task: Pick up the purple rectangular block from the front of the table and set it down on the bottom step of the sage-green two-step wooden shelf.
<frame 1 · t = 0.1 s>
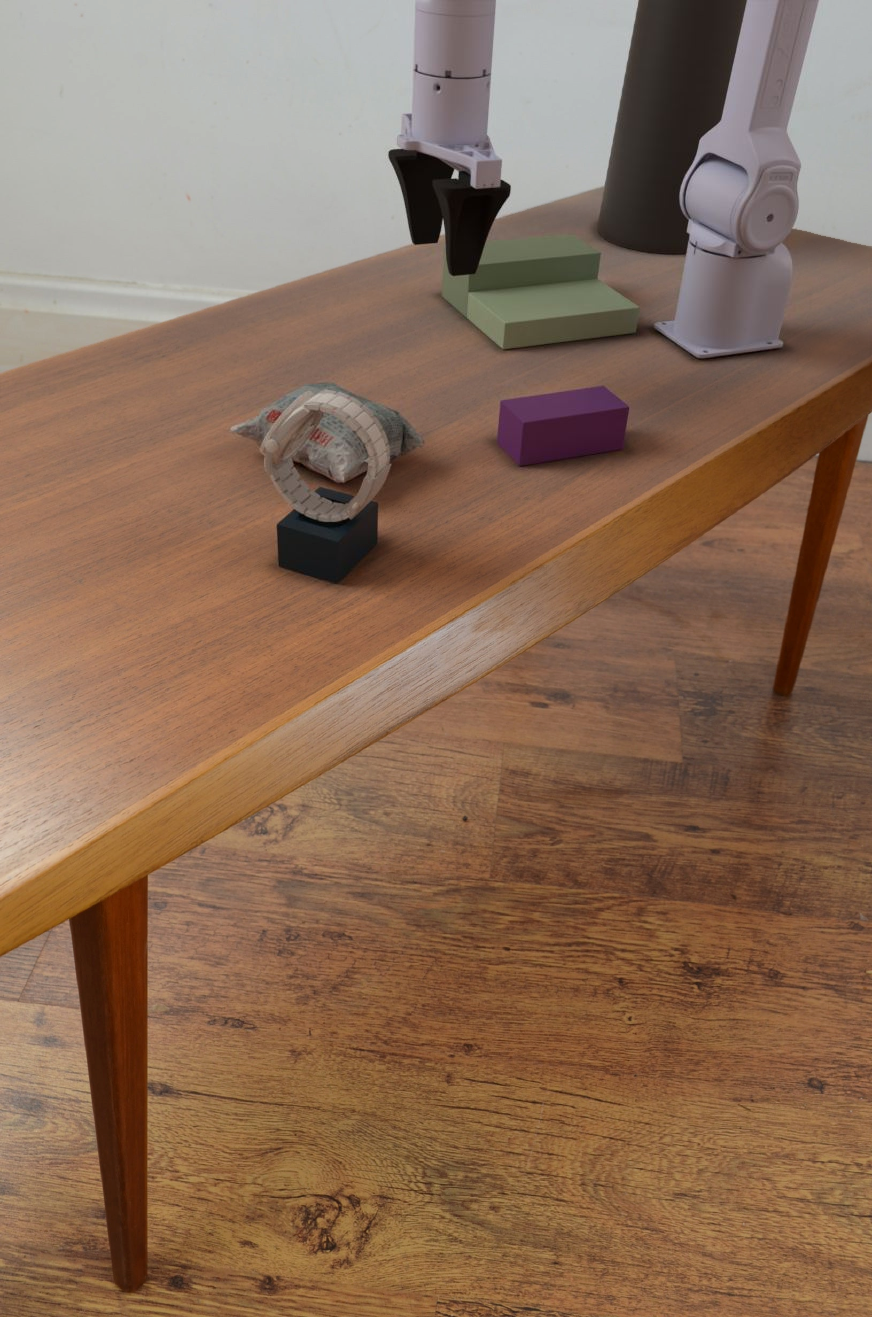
hand: (443, 257, 92), 10 cm above the table, tool pointing down, fingers open, 7 cm apart
step shelf: (531, 310, 112), on the table
purple rectangular block: (559, 446, 89), on the table
watch: (327, 557, 75), on the table
packaged food: (326, 465, 85), on the table
vase: (655, 236, 133), on the table
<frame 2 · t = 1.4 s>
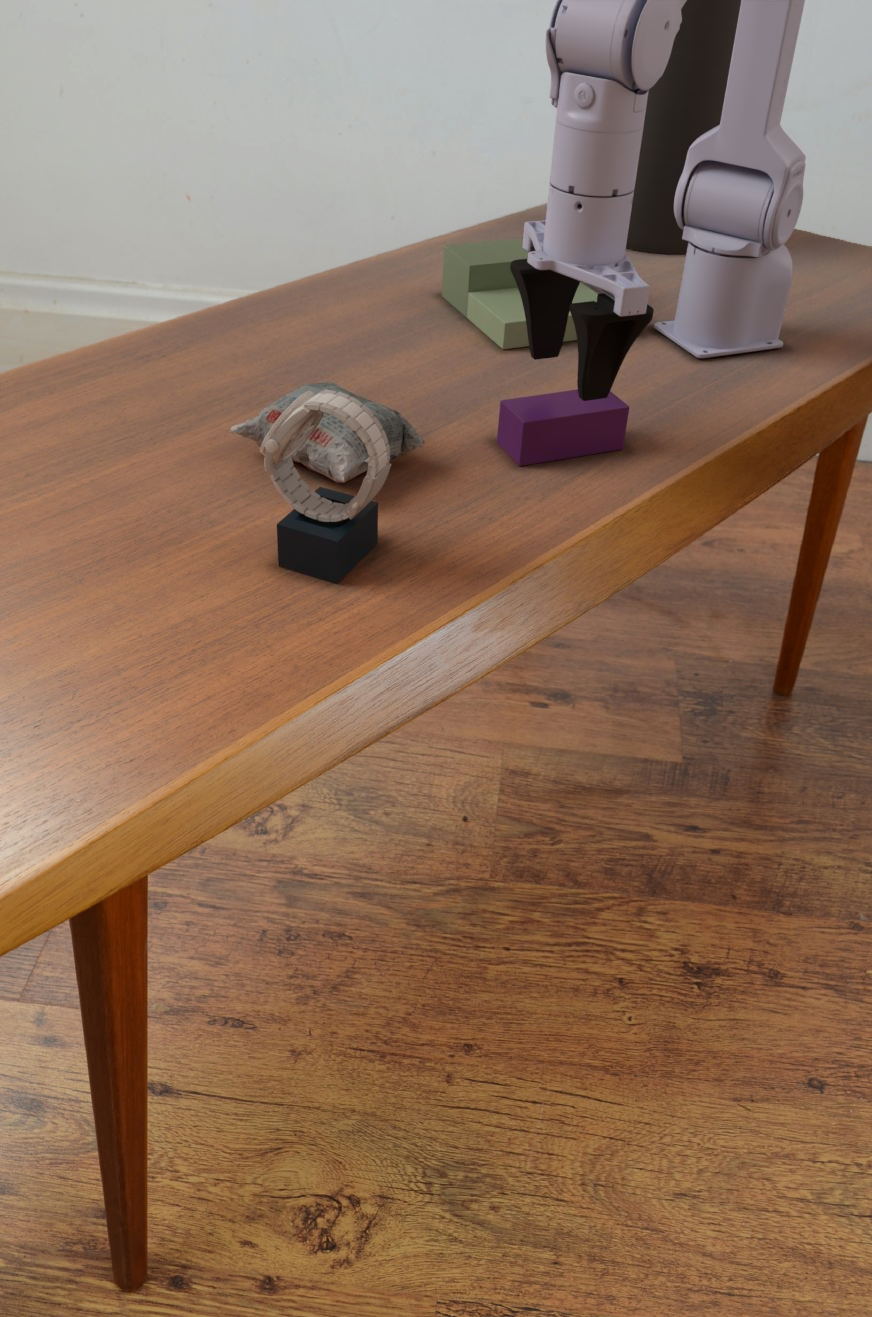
hand: (568, 376, 85), 6 cm above the table, tool pointing down, fingers open, 7 cm apart
nothing on the table moved.
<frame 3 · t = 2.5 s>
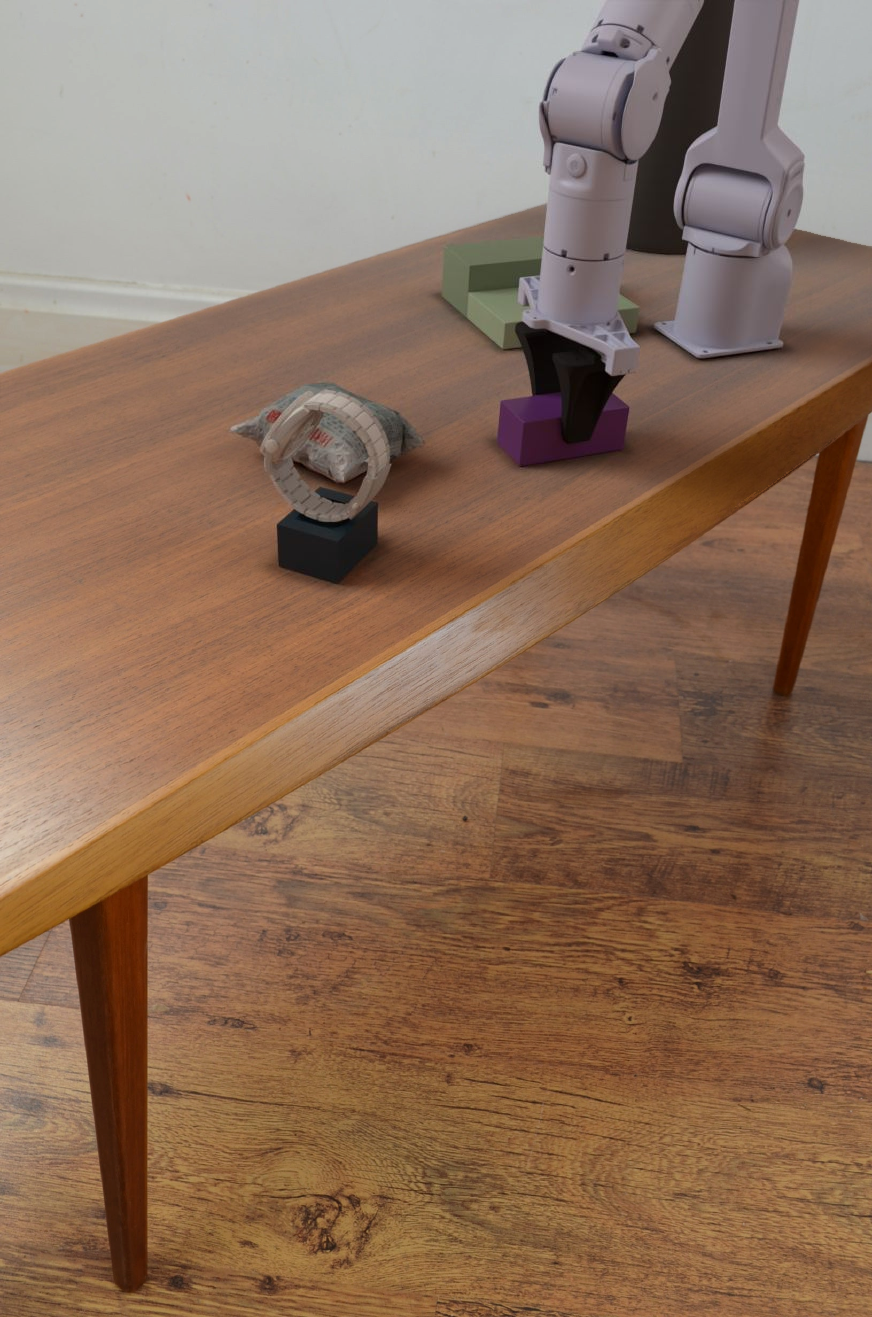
hand: (562, 427, 88), 2 cm above the table, tool pointing down, fingers closed on purple rectangular block, 4 cm apart
purple rectangular block: (559, 446, 89), on the table, touching gripper
everything else where it was.
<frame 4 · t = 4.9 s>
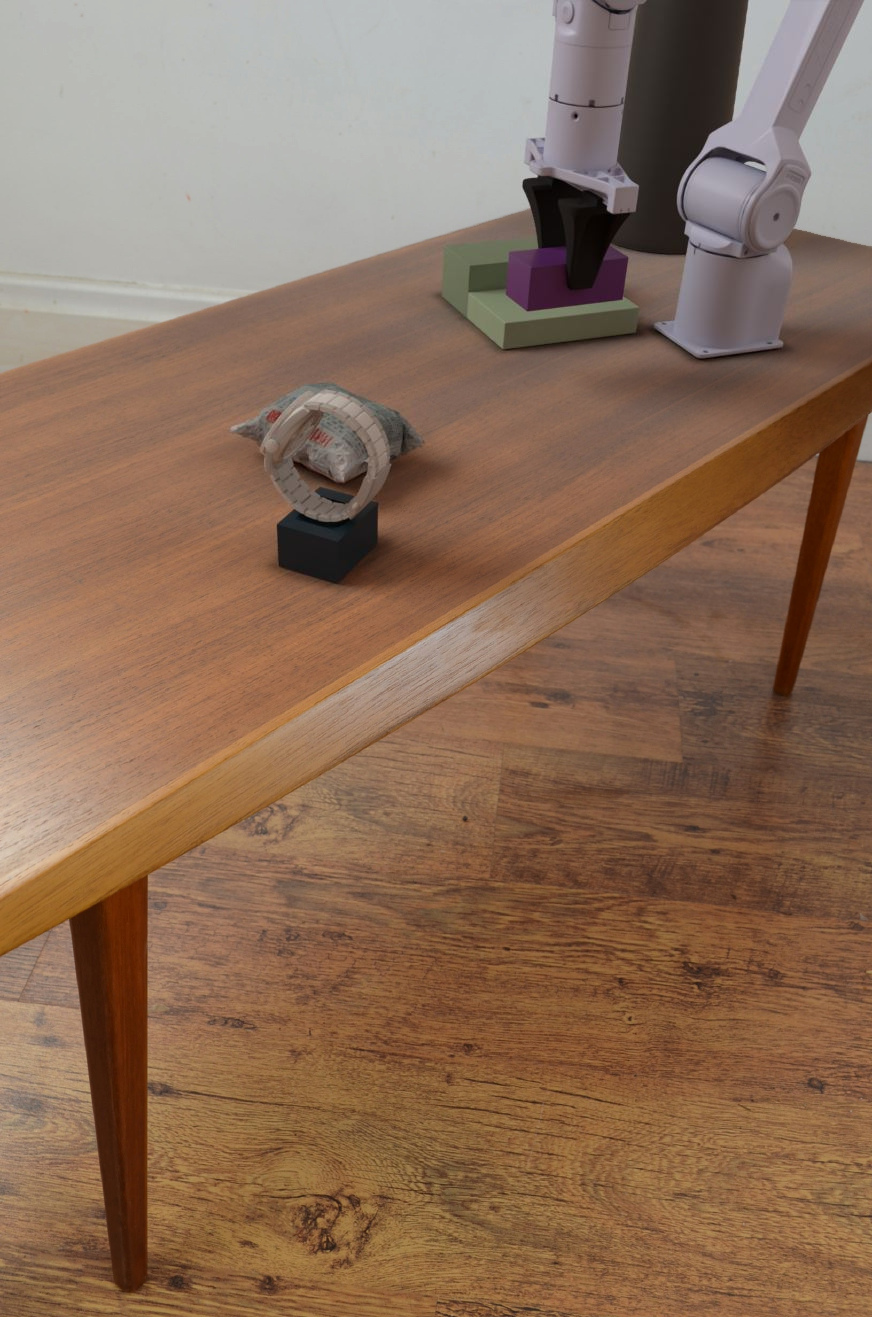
hand: (566, 278, 95), 8 cm above the table, tool pointing down, fingers closed on purple rectangular block, 4 cm apart
purple rectangular block: (564, 297, 96), point 7 cm above the table, touching gripper
everything else where it was.
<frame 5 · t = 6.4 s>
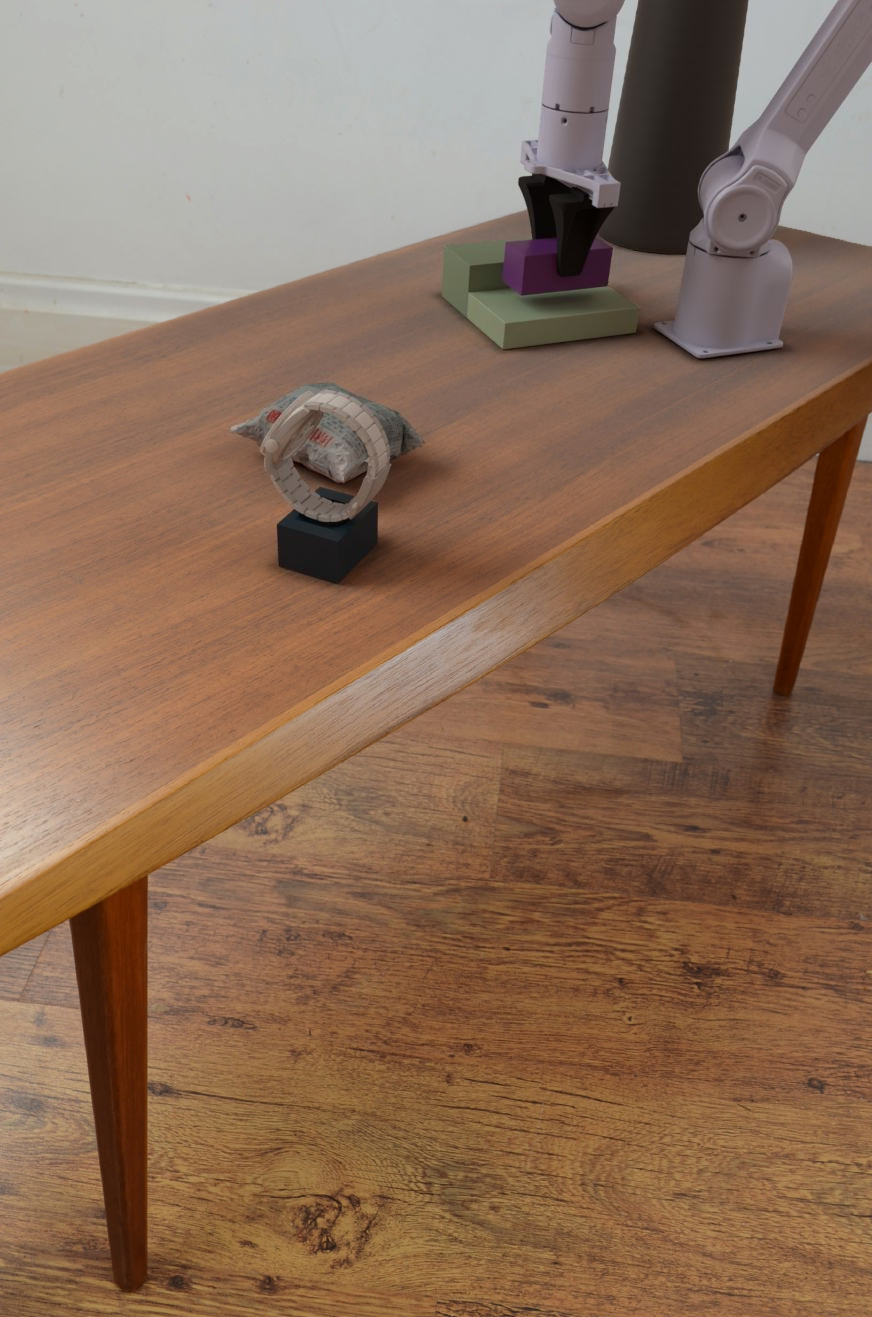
hand: (557, 266, 105), 6 cm above the table, tool pointing down, fingers closed on purple rectangular block, 4 cm apart
purple rectangular block: (554, 283, 106), point 4 cm above the table, touching gripper
everything else where it was.
when the fingers open (4 cm above the table, at t = 7.3 s): purple rectangular block stays where it is, resting on step shelf.
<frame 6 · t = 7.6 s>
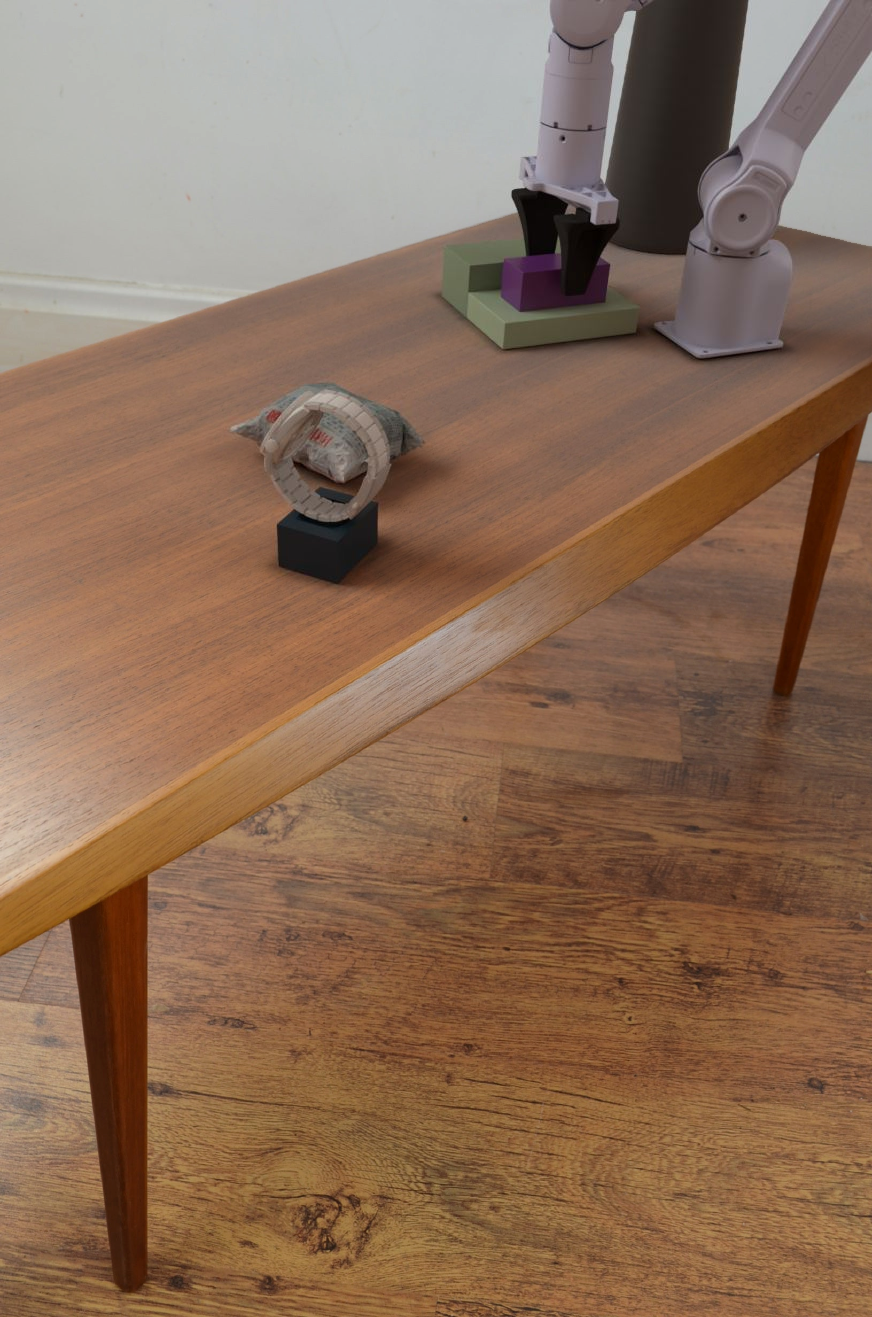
hand: (556, 281, 106), 4 cm above the table, tool pointing down, fingers open, 6 cm apart
purple rectangular block: (553, 299, 107), point 2 cm above the table, touching step shelf
everything else where it was.
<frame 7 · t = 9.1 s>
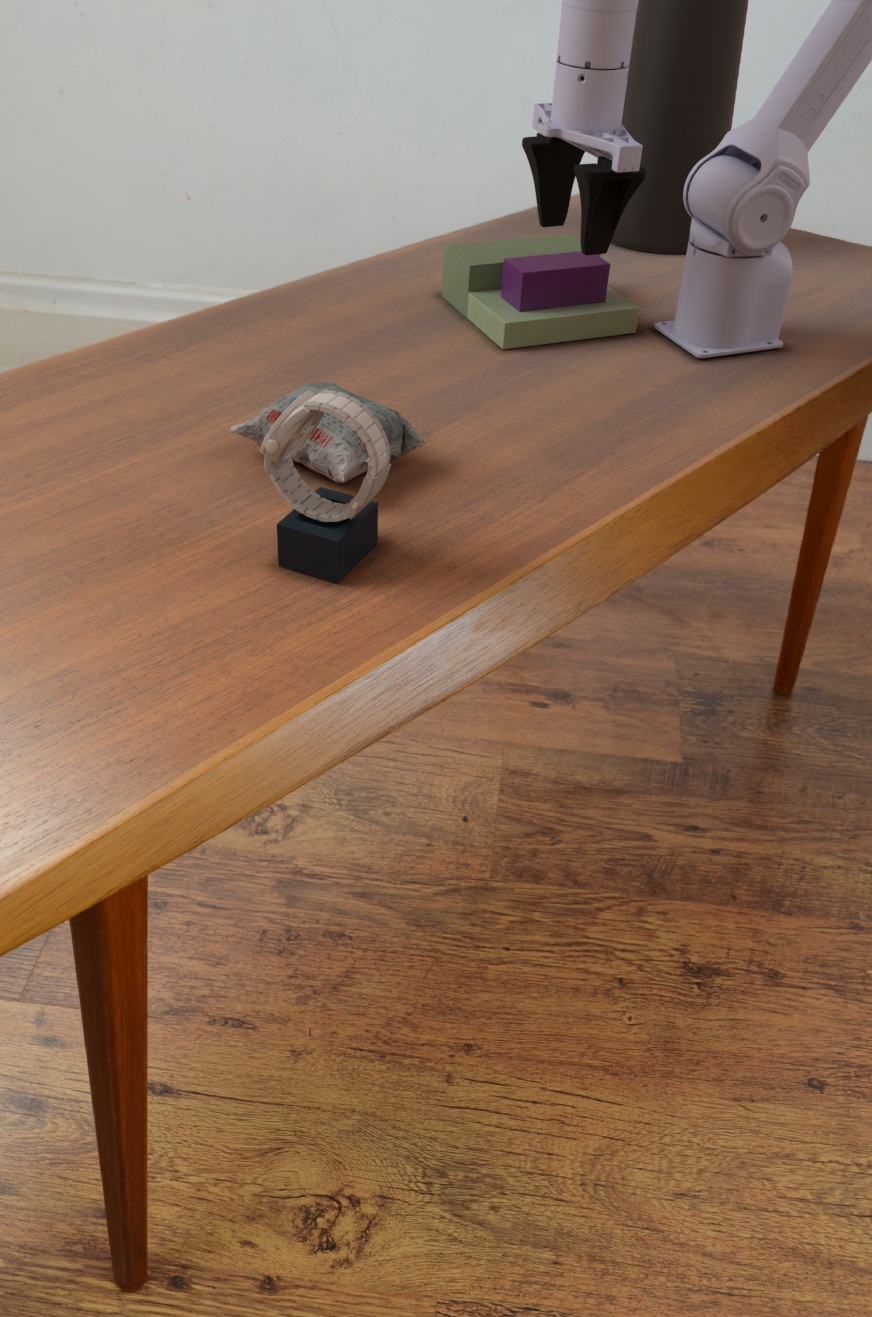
hand: (572, 238, 98), 10 cm above the table, tool pointing down, fingers open, 7 cm apart
nothing on the table moved.
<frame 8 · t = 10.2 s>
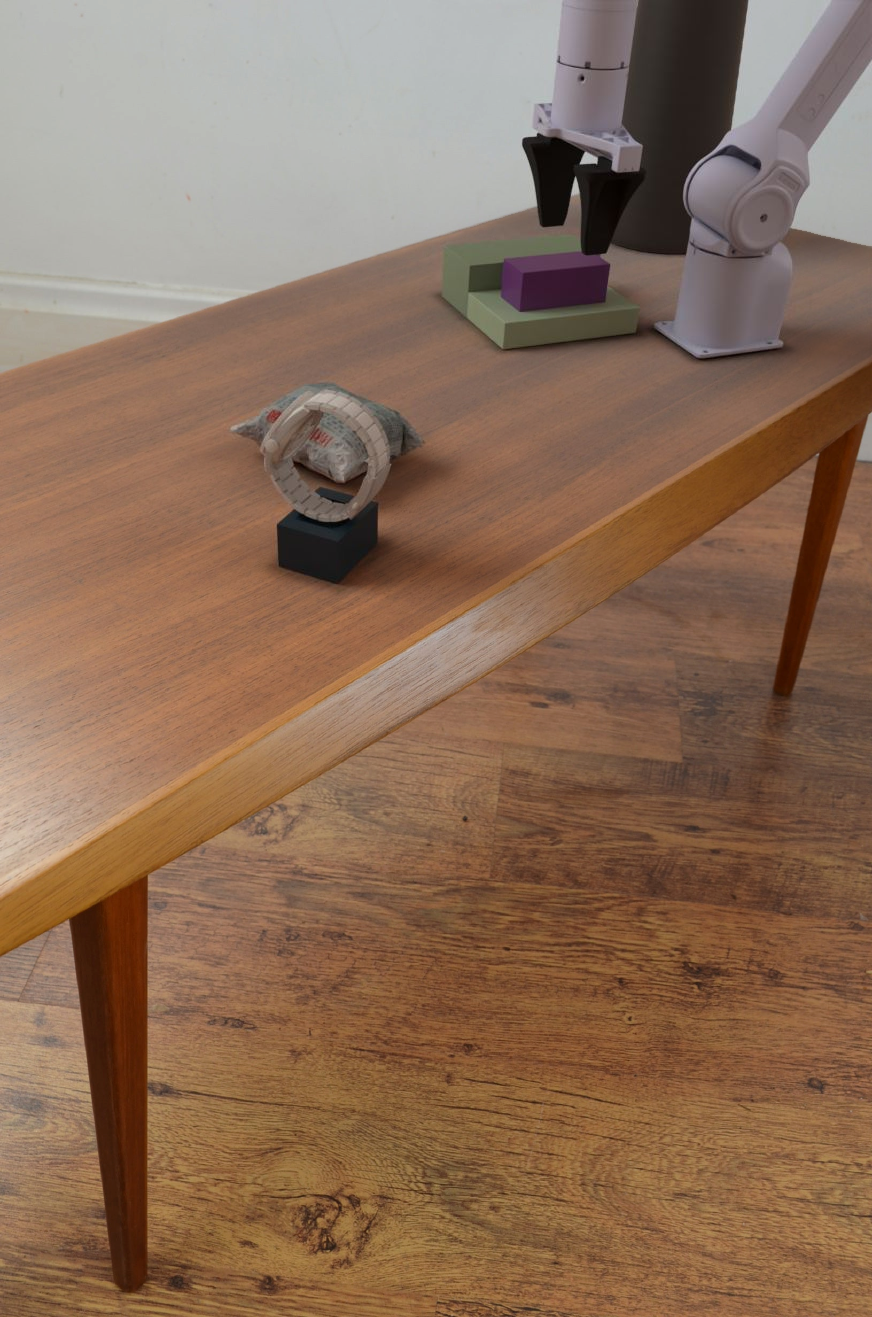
hand: (572, 238, 98), 10 cm above the table, tool pointing down, fingers open, 7 cm apart
nothing on the table moved.
at the end: purple rectangular block inside the target area on the step shelf (0.3 cm from its centre), point 2.5 cm above the step shelf's base; purple rectangular block tilted 0°; the gripper is holding nothing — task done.
